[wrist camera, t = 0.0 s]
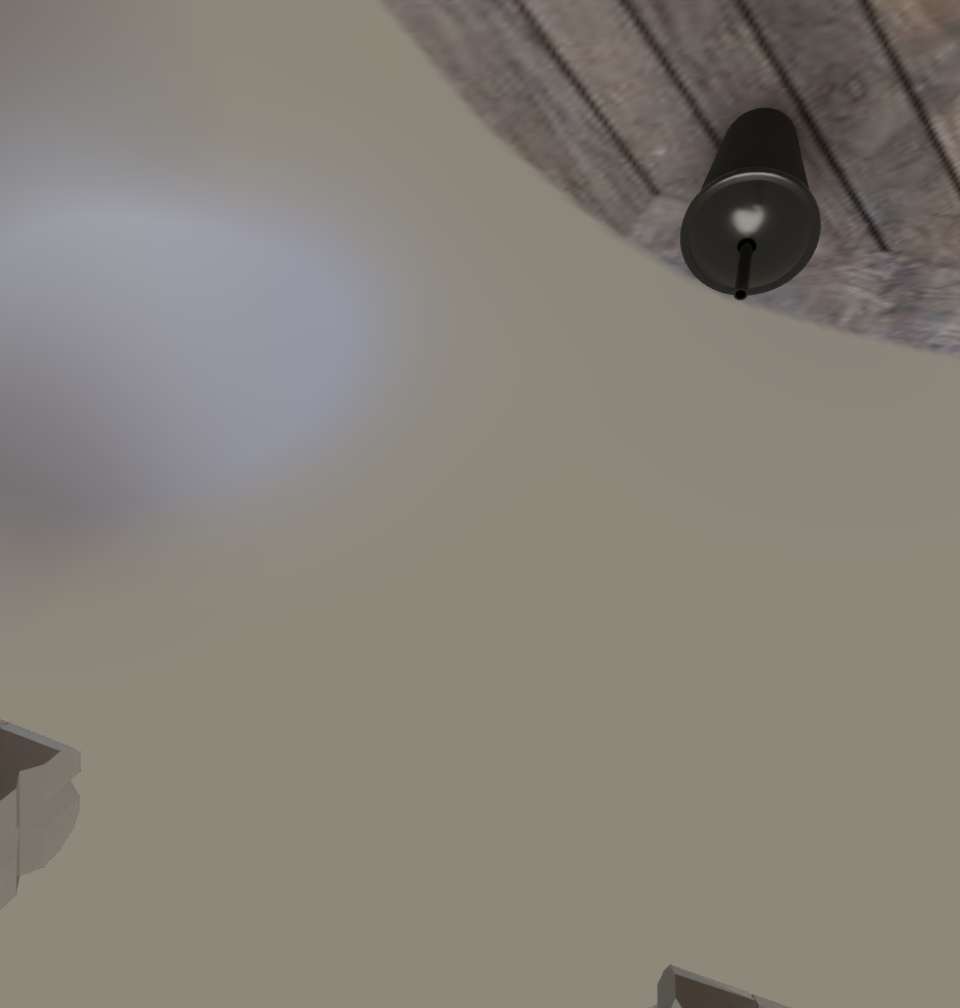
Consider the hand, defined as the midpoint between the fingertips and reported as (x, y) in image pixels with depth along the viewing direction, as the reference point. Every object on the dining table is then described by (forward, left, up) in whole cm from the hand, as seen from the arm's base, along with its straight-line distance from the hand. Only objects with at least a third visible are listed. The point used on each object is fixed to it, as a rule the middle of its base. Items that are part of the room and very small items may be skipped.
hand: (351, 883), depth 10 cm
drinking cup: (+12, +1, -55) cm, 56 cm away
